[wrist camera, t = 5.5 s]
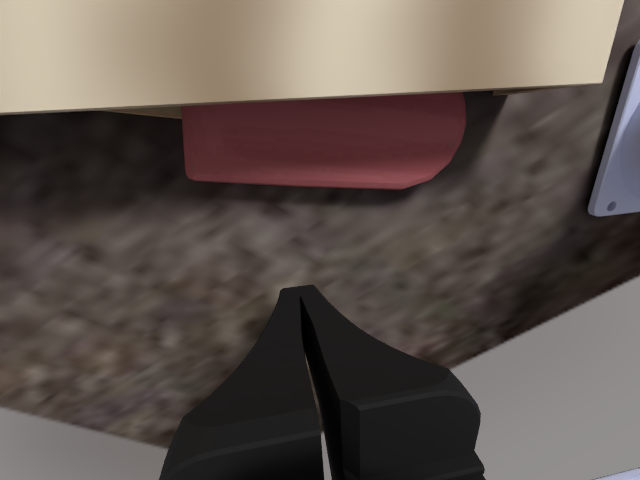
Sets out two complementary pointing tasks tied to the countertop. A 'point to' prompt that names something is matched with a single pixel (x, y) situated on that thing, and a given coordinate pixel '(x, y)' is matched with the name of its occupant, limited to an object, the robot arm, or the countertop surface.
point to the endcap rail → (291, 50)
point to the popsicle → (321, 140)
